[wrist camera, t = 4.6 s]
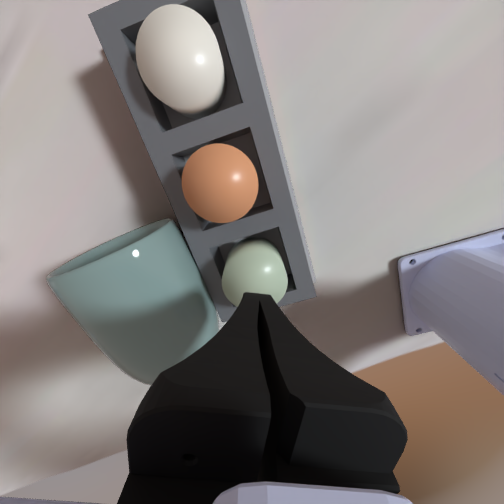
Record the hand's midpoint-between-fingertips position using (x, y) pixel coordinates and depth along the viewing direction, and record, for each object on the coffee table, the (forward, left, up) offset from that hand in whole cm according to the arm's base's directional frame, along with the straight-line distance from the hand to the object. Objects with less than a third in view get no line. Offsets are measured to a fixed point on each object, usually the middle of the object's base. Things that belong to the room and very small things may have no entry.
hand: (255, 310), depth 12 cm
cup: (+7, +6, -5) cm, 10 cm away
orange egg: (0, -6, -6) cm, 8 cm away
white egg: (0, -12, -7) cm, 14 cm away
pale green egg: (0, 0, -6) cm, 6 cm away
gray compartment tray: (0, -6, -8) cm, 10 cm away
